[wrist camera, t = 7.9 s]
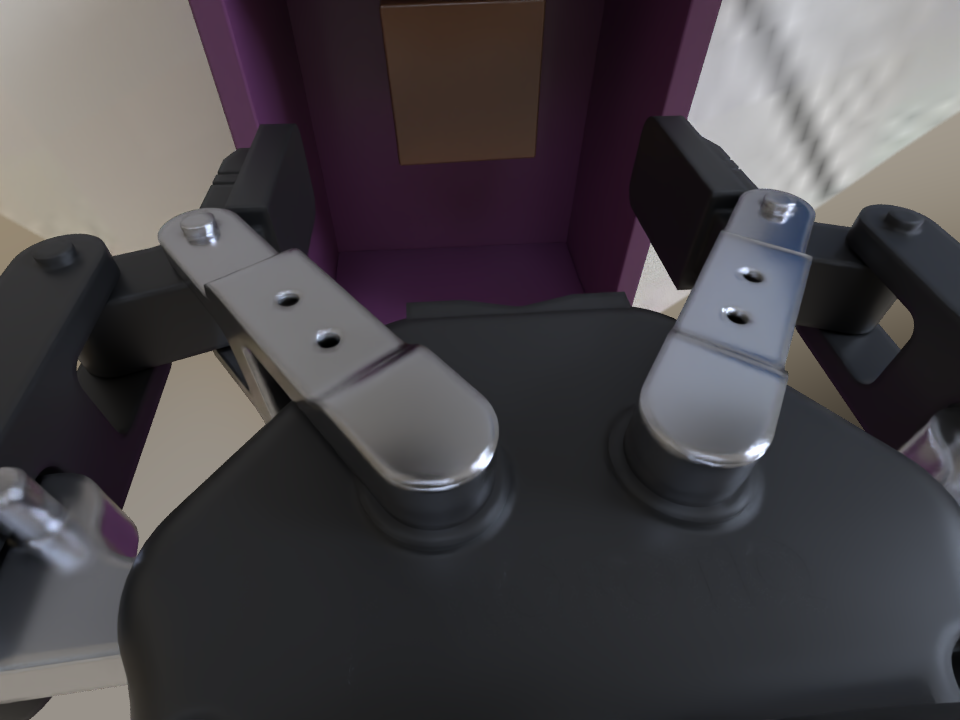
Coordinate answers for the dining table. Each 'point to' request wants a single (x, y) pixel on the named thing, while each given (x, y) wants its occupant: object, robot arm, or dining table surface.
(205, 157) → the dining table surface
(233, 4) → the file box
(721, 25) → the dining table surface
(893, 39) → the dining table surface
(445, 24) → the block
